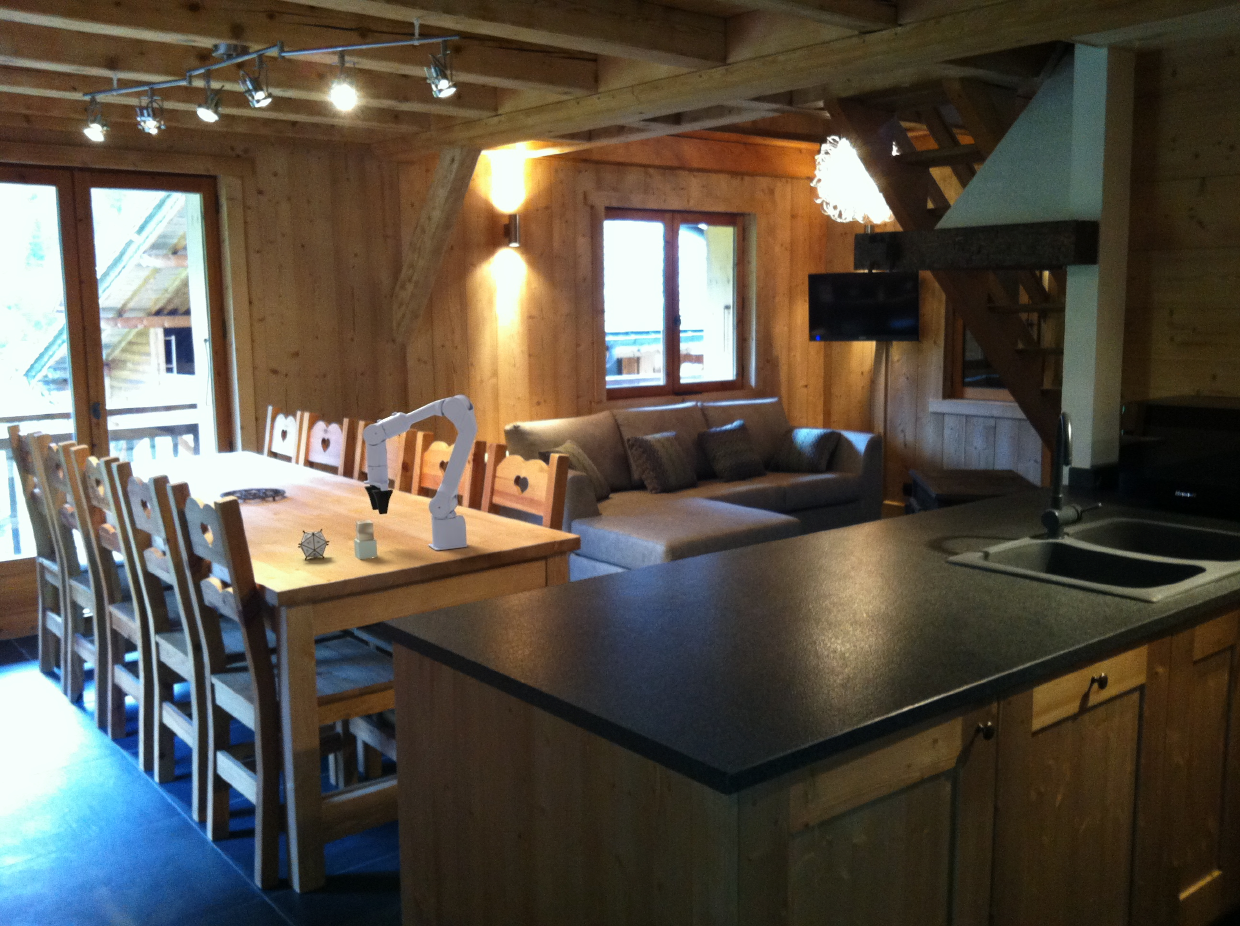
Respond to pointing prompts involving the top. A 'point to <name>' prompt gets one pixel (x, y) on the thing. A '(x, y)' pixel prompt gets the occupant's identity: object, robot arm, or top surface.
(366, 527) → the birch block
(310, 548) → the game die
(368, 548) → the base block
